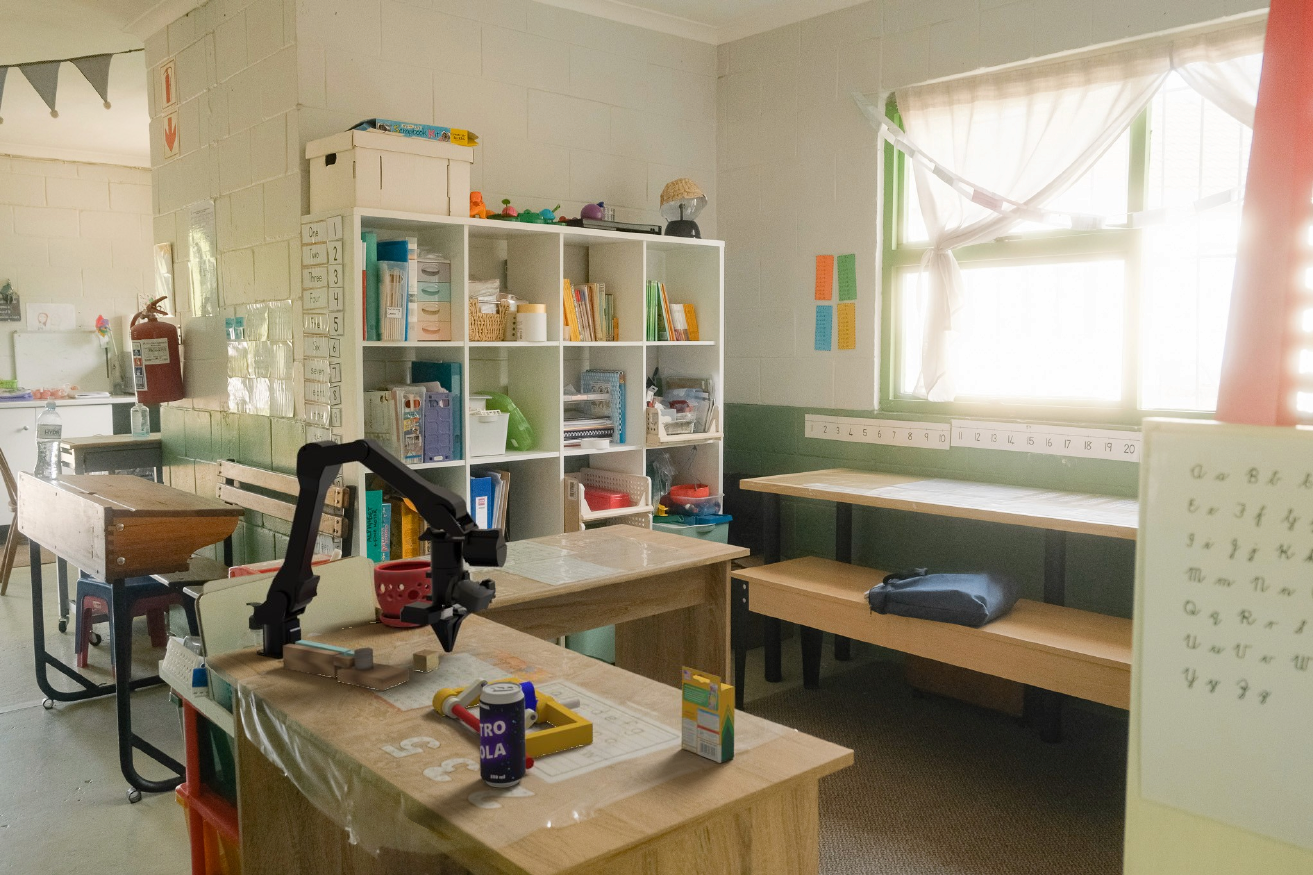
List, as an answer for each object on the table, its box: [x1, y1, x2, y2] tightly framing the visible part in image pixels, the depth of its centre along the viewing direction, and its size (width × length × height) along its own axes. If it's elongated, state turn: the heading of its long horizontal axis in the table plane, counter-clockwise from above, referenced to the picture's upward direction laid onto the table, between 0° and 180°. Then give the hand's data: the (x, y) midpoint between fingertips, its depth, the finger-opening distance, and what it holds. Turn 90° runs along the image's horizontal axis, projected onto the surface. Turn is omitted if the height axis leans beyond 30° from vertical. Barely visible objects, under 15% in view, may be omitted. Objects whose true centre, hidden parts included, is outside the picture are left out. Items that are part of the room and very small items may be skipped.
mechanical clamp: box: [431, 676, 594, 770], centre depth 142 cm, size 18×6×30 cm
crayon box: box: [681, 665, 736, 764], centre depth 132 cm, size 7×3×12 cm, turn 44°
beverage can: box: [478, 682, 527, 788], centre depth 123 cm, size 6×6×12 cm
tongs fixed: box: [282, 644, 410, 691], centre depth 166 cm, size 24×6×5 cm, turn 62°
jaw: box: [295, 639, 355, 669], centre depth 169 cm, size 15×2×4 cm, turn 60°
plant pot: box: [373, 560, 432, 628], centre depth 200 cm, size 13×13×12 cm
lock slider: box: [412, 648, 439, 673], centre depth 169 cm, size 3×3×3 cm
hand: (448, 651), depth 174 cm, fingers closed
